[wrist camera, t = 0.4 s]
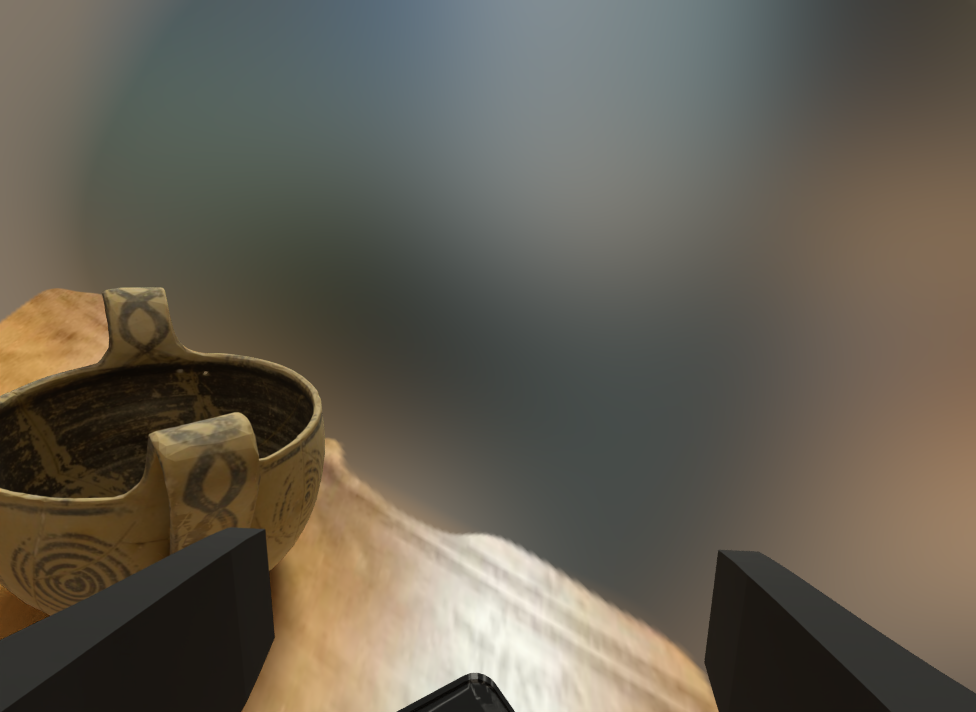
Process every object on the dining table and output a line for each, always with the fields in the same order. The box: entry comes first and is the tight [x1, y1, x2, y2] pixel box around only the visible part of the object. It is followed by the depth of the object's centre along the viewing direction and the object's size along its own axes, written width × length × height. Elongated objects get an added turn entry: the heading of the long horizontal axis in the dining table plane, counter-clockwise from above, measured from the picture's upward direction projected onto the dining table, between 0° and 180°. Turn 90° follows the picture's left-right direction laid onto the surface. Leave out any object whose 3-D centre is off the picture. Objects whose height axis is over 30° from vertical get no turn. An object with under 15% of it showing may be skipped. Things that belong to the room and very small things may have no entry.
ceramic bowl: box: [0, 288, 325, 615], centre depth 30 cm, size 22×17×15 cm
